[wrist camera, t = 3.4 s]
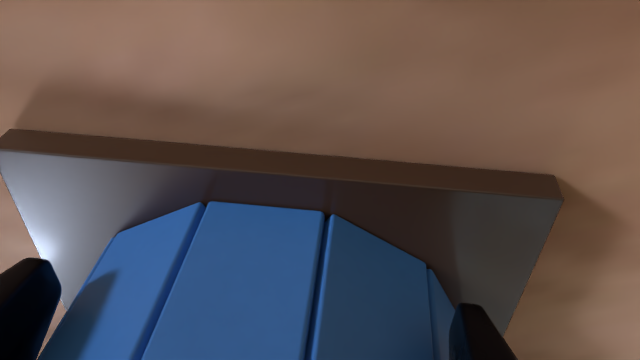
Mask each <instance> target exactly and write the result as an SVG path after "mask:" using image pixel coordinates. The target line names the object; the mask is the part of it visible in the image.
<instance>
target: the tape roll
mask: <svg viewBox="0 0 640 360" xmlns="http://www.w3.org/2000/svg"><path fill="white" fill-rule="evenodd" d="M324 220H325V215H324V213H323V212H322V211H315V210H304V209H293V208H282V207H271V206H260V205H249V204H239V203H228V202H217V201H211V202H209V203H208V205H207V208H206V207H205V206H204V205H203V203H201V202H198V203H195V204H193V205H190V206H188V207H185V208H182V209H180V210H177V211H174V212H172V213H169V214H167V215H164V216H161V217H159V218H156V219H153V220H151V221H148V222H145V223H143V224H140V225H138V226H135V227H132V228H130V229H127V230H124V231H122V232H119V233H118V234H117V235H116V237H113V238H111V240H110V241H109V243H108V244H107V246H106V248H105V249H104V251H103V253H102V254H101V256H100V258H99V259H98V261H97V262H96V264H95V266H94V267H93V269H92V271H91V272H90V274H89V276H88V277H87V279H86V280H85V282H84V284H83V285H82V287H81V289H80V290H79V292H78V294H77V295H76V297H75V298H74V300H73V302H72V303H71V305H70V307H69V308H68V310H67V312H66V313H65V315H64V317H63V318H62V320H61V321H60V323H59V325H58V326H57V328H56V330H55V331H54V333H53V335H52V336H51V338H50V339H49V341H48V343H47V344H46V346H45V348H44V349H43V351H42V353H41V354H40V356H39V357H38V359H37V360H449V330H450V326H451V323H452V320H453V317H454V313H455V309H454V307H453V306H452V304H451V302H450V300H449V299H448V297H447V295H446V293H445V292H444V290H443V288H442V286H441V285H440V283H439V281H438V279H437V278H436V276H435V274H434V272H433V271H432V270H431V269H426V264H425V263H424V262H423V261H421V260H419V259H417V258H415V257H414V256H412V255H410V254H408V253H406V252H404V251H402V250H400V249H399V248H397V247H395V246H393V245H391V244H389V243H387V242H385V241H384V240H382V239H380V238H378V237H376V236H374V235H372V234H370V233H369V232H367V231H365V230H363V229H361V228H359V227H357V226H355V225H354V224H352V223H350V222H348V221H346V220H344V219H342V218H340V217H339V216H337V215H335V214H332V215H331V216H330V217H329V218H328V219H327V221H326V222H325V223H324Z"/></svg>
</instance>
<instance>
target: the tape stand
mask: <svg viewBox="0 0 640 360" xmlns="http://www.w3.org/2000/svg"><path fill="white" fill-rule="evenodd" d="M0 173H1V176H2V178H3V180H4V182H5V184H6V186H7V188H8V190H9V192H10V194H11V196H12V199H13V201H14V203H15V205H16V207H17V209H18V211H19V213H20V215H21V217H22V219H23V222H24V224H25V226H26V228H27V230H28V232H29V234H30V236H31V238H32V240H33V242H34V245H35V247H36V249H37V251H38V253H39V255H40V257H41V259H47V260H48V261H50V262H51V264H52V266H53V268H54V270H55V273H56V275H57V277H58V279H59V281H60V283H61V288H62V293H61V297H60V299H61V301H62V303H63V305H64V307H65V309H66V312H67V310H68V308H69V307H70V305H71V303H72V302H73V300H74V298H75V297H76V295H77V294H78V292H79V290H80V289H81V287H82V285H83V284H84V282H85V280H86V279H87V277H88V276H89V274H90V272H91V271H92V269H93V267H94V266H95V264H96V262H97V261H98V259H99V258H100V256H101V254H102V253H103V251H104V249H105V248H106V246H107V244H108V243H109V241H110V240H111V238H113V237H116V235H117V234H118V233H119V232H122V231H124V230H127V229H130V228H132V227H135V226H138V225H140V224H143V223H145V222H148V221H151V220H153V219H156V218H159V217H161V216H164V215H167V214H169V213H172V212H174V211H177V210H180V209H182V208H185V207H188V206H190V205H193V204H195V203H198V202H201V203H203V205H204V206H205V207H206V208H207V205H208V203H209V202H211V201H217V202H228V203H239V204H249V205H260V206H271V207H282V208H293V209H304V210H315V211H322V212H323V213H324V215H325V220H324V223H325V222H326V221H327V219H328V218H329V217H330V216H331V215H332V214H335V215H337V216H339V217H340V218H342V219H344V220H346V221H348V222H350V223H352V224H354V225H355V226H357V227H359V228H361V229H363V230H365V231H367V232H369V233H370V234H372V235H374V236H376V237H378V238H380V239H382V240H384V241H385V242H387V243H389V244H391V245H393V246H395V247H397V248H399V249H400V250H402V251H404V252H406V253H408V254H410V255H412V256H414V257H415V258H417V259H419V260H421V261H423V262H424V263H425V264H426V269H431V270H432V271H433V272H434V274H435V276H436V278H437V279H438V281H439V283H440V285H441V286H442V288H443V290H444V292H445V293H446V295H447V297H448V299H449V300H450V302H451V304H452V306H453V307H454V309H455V310H456V307H457V305H458V304H459V303H471V304H478V305H480V306H482V307H483V308H484V310H485V311H486V313H487V314H488V316H489V317H490V319H491V320H492V322H493V323H494V325H495V326H496V328H497V329H498V331H499V332H500V334H501V335H502V337H503V335H504V333H505V331H506V329H507V326H508V324H509V322H510V320H511V317H512V315H513V313H514V311H515V308H516V306H517V304H518V302H519V300H520V297H521V295H522V293H523V291H524V288H525V286H526V284H527V282H528V279H529V277H530V275H531V273H532V270H533V268H534V266H535V264H536V261H537V259H538V257H539V255H540V252H541V250H542V248H543V246H544V243H545V241H546V239H547V237H548V234H549V232H550V230H551V228H552V225H553V223H554V221H555V219H556V217H557V214H558V212H559V210H560V208H561V205H562V203H563V201H564V197H563V195H562V193H561V190H560V188H559V185H558V183H557V181H556V178H555V176H554V175H547V174H535V173H523V172H511V171H500V170H488V169H476V168H464V167H453V166H441V165H429V164H417V163H406V162H394V161H382V160H370V159H359V158H347V157H335V156H323V155H312V154H300V153H288V152H276V151H265V150H253V149H241V148H229V147H218V146H206V145H194V144H182V143H171V142H159V141H147V140H135V139H124V138H112V137H100V136H88V135H77V134H65V133H53V132H41V131H30V130H18V129H9V130H8V131H7V132H6V133H5V134H4V135H3V136H1V137H0Z"/></svg>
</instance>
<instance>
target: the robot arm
mask: <svg viewBox="0 0 640 360" xmlns="http://www.w3.org/2000/svg"><path fill="white" fill-rule="evenodd" d="M61 293H62V288H61V283H60V281H59V279H58V277H57V275H56V273H55V270H54V268H53V266H52V264H51V262H50V261H48V260H47V259H40V258H26V259H23V260H22V261H20V262H18V263H17V264H15V265H14V266H12V267H11V268H9V269H7V270H6V271H4V272H3V273H1V274H0V360H36V359H37V356H38V354H39V351H40V349H41V346H42V343H43V341H44V338H45V336H46V333H47V331H48V328H49V326H50V323H51V320H52V318H53V315H54V313H55V310H56V308H57V305H58V303H59V300H60V297H61ZM449 360H518V359H517V358H516V356H515V355H514V353H513V352H512V350H511V349H510V347H509V346H508V344H507V343H506V341H505V340H504V338H503V337H502V335H501V334H500V332H499V331H498V329H497V328H496V326H495V325H494V323H493V322H492V320H491V319H490V317H489V316H488V314H487V313H486V311H485V310H484V308H483V307H482V306H480V305H478V304H471V303H459V304H458V305H457V307H456V310H455V313H454V317H453V320H452V323H451V326H450V330H449Z"/></svg>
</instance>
